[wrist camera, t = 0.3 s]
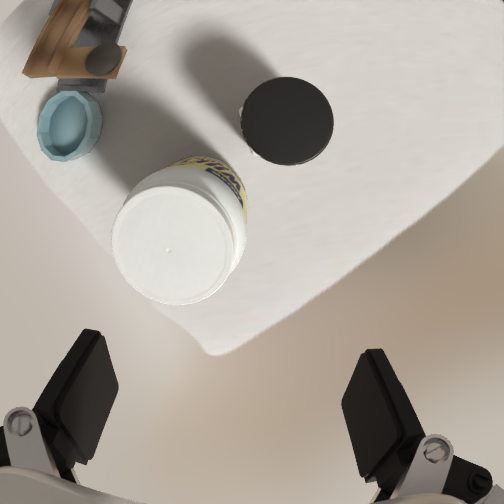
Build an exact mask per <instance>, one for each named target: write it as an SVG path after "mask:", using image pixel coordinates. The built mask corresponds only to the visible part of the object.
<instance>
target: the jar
mask: <svg viewBox="0 0 504 504" xmlns="http://www.w3.org/2000/svg"><path fill="white" fill-rule="evenodd" d="M239 114H240V117H241V128H242V129H243V131H242V132H243V135H244V138H246V142H247V143H248V145H249V147H250V150H251V153H252V154H253V155H256V156H260V157H261V158H263V159H265V160H267V161H269V162H271V163H274V164H278V165H287V166H291V165H295V166H298V165H299V164H303V163H306V162H308V161H310V160H312V159H314V158H315V157H317V156H318V155H319V154H320V153H321V152H322V151H323V150H324V149H325V148H326V146H327V145H328V143H329V141H330V139H331V136H332V133H333V126H334V119H333V113H332V109H331V106H330V104H329V102H328V100H327V99H326V97H325V96H324V95H323V93H322V92H321V91H320V90H319V89H318V88H316V87H315V86H314V85H312V84H310V83H309V82H307V81H304V80H302V79H298V78H293V77H279V78H274V79H270V80H268V81H266V82H264V83H262V84H261V85H259V86H258V87H257V88H256V89H254V90H253V92H252V93H251V94H250V95H249V96H248V98H247V99H246V101H245V103H244V105H243V106H242V107H241V108H240V109H239Z"/></svg>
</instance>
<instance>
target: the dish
mask: <svg viewBox="0 0 504 504" xmlns="http://www.w3.org/2000/svg"><path fill="white" fill-rule="evenodd" d="M102 121H103V117H102V114H101V110H100V107H99V103H98V102H97V101H96V100H95V99H94V98H93V97H92V96H90V95H89V94H88V93H86V92H79V91H61V92H60V93H58V94H57V95H55V96H54V97H52V98H51V99H49V100H48V102H47V103H46V105H45V107H44V108H43V110H42V112H41V113H40V115H39V121H38V127H37V137H38V141H39V144H40V148H41V150H42V151H43V152H44V153H45V154H46V155H47V156H48V157H49V158H50V159H51V160H54V161H61V162H67V161H71V160H75V159H77V158H79V157H81V156H83V155H85V154H87V153H89V152H90V151H91V149H92V148H93V146H94V145H95V143H96V142H97V140H98V139H99V137H100V132H101V126H102Z"/></svg>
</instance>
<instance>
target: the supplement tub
mask: <svg viewBox="0 0 504 504" xmlns="http://www.w3.org/2000/svg"><path fill="white" fill-rule="evenodd" d="M247 209H248V198H247V193H246V189H245V186H244V184H243V182H242V180H241V178H240V177H239V176H238V174H237V173H236V172H235V171H234V170H233V169H232V168H231V167H230V166H228V165H227V164H225V163H224V162H222V161H220V160H217V159H215V158H211V157H205V156H195V157H189V158H186V159H183V160H180V161H178V162H177V163H175V164H173V165H171V166H168V167H166V168H164V169H161V170H158V171H156V172H154V173H152V174H150V175H149V176H147V177H146V178H144V179H143V180H142V181H141V182H139V183H138V184H137V185H136V186H135V187H134V188H133V189H132V191H131V192H130V193H129V195H128V196H127V198H126V200H125V202H124V204H123V207H122V208H121V210H120V211H119V213H118V215H117V217H116V219H115V222H114V225H113V229H112V236H111V245H112V252H113V256H114V260H115V262H116V264H117V267H118V269H119V271H120V272H121V274H122V276H123V277H124V278H125V279H126V281H127V282H128V283H129V284H130V285H131V286H132V287H133V288H134V289H136V290H137V291H138V292H140V293H141V294H142V295H144V296H146V297H148V298H150V299H152V300H154V301H157V302H160V303H164V304H170V305H187V304H192V303H196V302H199V301H201V300H203V299H205V298H207V297H209V296H210V295H212V294H213V293H215V292H216V291H217V290H218V289H219V288H220V287H221V285H222V284H223V283H224V282H225V280H226V278H227V276H228V275H229V274H230V273H231V272H232V271H233V270H234V268H235V267H236V266H237V264H238V262H239V261H240V258H241V256H242V254H243V252H244V248H245V245H246V239H247Z"/></svg>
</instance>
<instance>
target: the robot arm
mask: <svg viewBox="0 0 504 504" xmlns="http://www.w3.org/2000/svg"><path fill="white" fill-rule="evenodd" d="M118 387H119V386H118V382H117V378H116V375H115V372H114V369H113V366H112V362H111V359H110V355H109V351H108V348H107V344H106V340H105V337H104V336H102V335H101V333H100V332H99V331H96V330H91V329H84V330H83V331H82V333H81V334H80V336H79V337H78V338H77V340H76V341H75V343H74V344H73V346H72V347H71V349H70V350H69V352H68V353H67V355H66V356H65V358H64V359H63V360H62V362H61V363H60V364H59V366H58V368H57V369H56V371H55V372H54V374H53V376H52V377H51V379H50V381H49V382H48V384H47V385H46V387H45V389H44V390H43V392H42V394H41V395H40V397H39V399H38V401H37V402H36V404H35V406H34V408H33V409H32V410H30V409H28V408H26V407H17V408H14V409H12V410H11V411H10V412H8V414H7V415H6V416H5V419H4V426H1V427H0V504H145V503H140V502H136V501H132V500H128V499H124V498H120V497H117V496H113V495H109V494H106V493H103V492H100V491H96V490H93V489H90V488H87V487H84V486H81V485H80V482H79V480H78V478H77V476H76V473H75V471H74V469H73V467H74V465H75V462H78V463H81V464H84V465H87V462H88V460H91V459H92V458H93V456H94V453H95V451H96V448H97V445H98V442H99V439H100V437H101V434H102V431H103V429H104V426H105V423H106V421H107V418H108V416H109V413H110V410H111V408H112V405H113V403H114V400H115V398H116V395H117V393H118ZM341 405H342V409H343V413H344V417H345V420H346V424H347V428H348V431H349V435H350V439H351V442H352V446H353V450H354V454H355V458H356V462H357V466H358V470H359V474H360V476H361V477H364V478H365V482H366V483H369V482H374V481H377V484H378V487H379V488H378V490H377V492H376V494H375V495H374V497H373V499H372V500H371V502H370V504H504V490H503V489H502V488H501V487H499V486H498V485H497V484H496V485H495V486H493V485H492V483H493V481H492V476H491V474H490V472H489V471H488V470H487V469H485V468H483V467H481V466H478V465H476V464H473V463H471V462H469V461H466V460H464V459H462V458H459V457H457V456H455V455H453V453H454V450H453V446H452V444H451V443H450V441H449V440H448V439H447V438H445V437H444V436H441V435H438V434H431V435H428V436H426V435H425V433H424V431H423V428H422V426H421V424H420V422H419V420H418V417H417V415H416V413H415V411H414V409H413V407H412V405H411V403H410V400H409V398H408V396H407V394H406V392H405V390H404V388H403V386H402V385H401V383H400V382H399V380H398V378H397V376H396V374H395V372H394V370H393V368H392V366H391V365H390V363H389V361H388V359H387V357H386V355H385V353H384V351H383V350H382V349H367V350H366V351H365V353H362V354H361V356H360V358H359V360H358V363H357V365H356V368H355V370H354V373H353V375H352V377H351V380H350V382H349V384H348V387H347V389H346V391H345V393H344V396H343V398H342V404H341Z"/></svg>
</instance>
